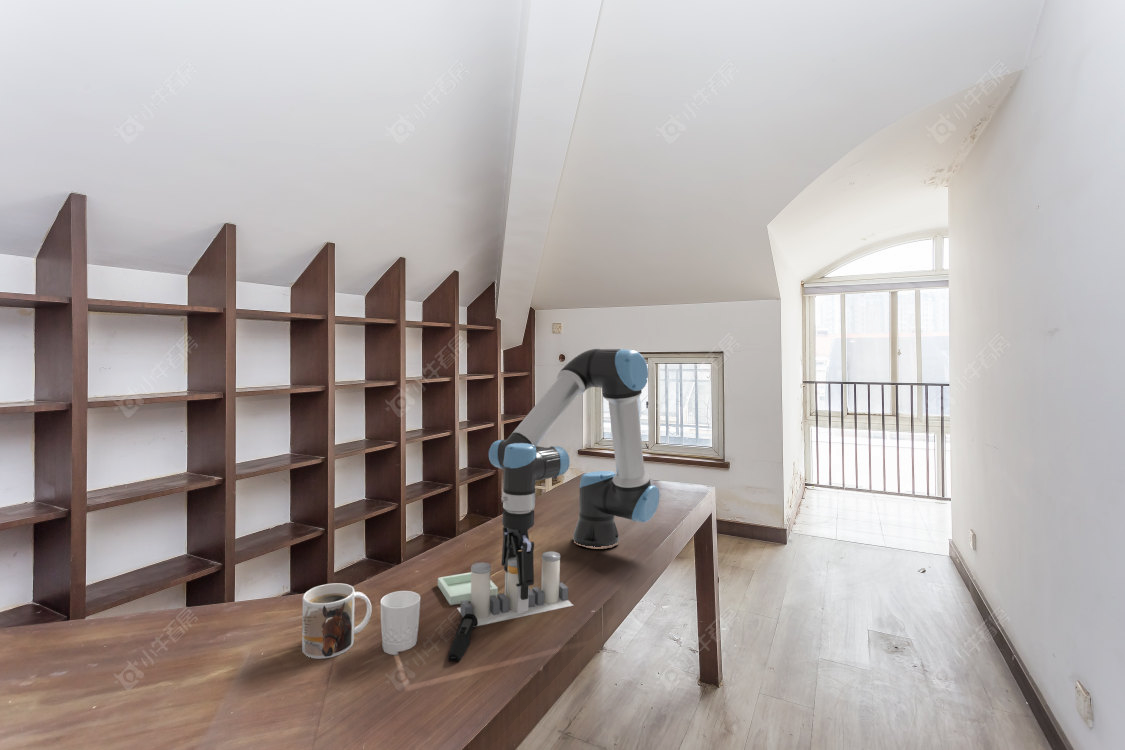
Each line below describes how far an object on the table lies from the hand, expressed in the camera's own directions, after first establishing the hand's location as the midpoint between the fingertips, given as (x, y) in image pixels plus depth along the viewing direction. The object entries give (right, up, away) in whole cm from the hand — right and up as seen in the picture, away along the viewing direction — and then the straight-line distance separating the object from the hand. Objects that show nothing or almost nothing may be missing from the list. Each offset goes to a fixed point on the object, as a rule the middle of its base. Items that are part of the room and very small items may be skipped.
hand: (516, 604), depth 128 cm
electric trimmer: (-10, -1, -16) cm, 19 cm away
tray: (-13, -1, +8) cm, 15 cm away
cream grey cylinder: (+8, -1, +4) cm, 9 cm away
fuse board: (0, -1, 0) cm, 1 cm away
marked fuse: (0, -1, 0) cm, 1 cm away
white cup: (-23, -2, -17) cm, 28 cm away
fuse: (-8, 0, -4) cm, 9 cm away
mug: (-36, -1, -17) cm, 40 cm away
